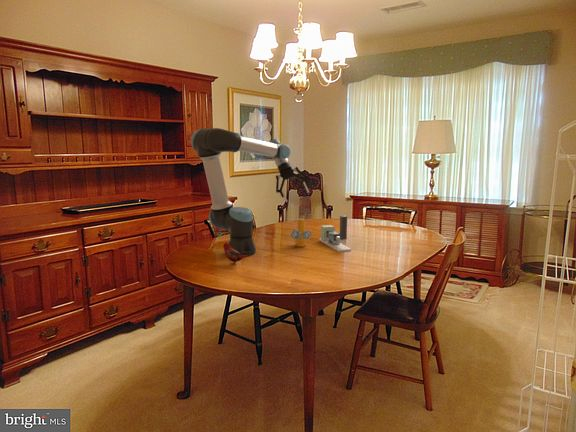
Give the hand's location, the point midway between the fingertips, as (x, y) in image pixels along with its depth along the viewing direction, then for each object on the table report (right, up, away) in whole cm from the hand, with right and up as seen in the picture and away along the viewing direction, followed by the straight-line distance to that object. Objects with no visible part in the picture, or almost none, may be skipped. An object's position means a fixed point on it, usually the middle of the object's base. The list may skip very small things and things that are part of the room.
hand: (297, 197), depth 242 cm
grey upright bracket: (+22, -24, -11) cm, 34 cm away
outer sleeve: (+20, -26, -6) cm, 34 cm away
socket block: (+17, -25, +3) cm, 30 cm away
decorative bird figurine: (-30, -34, -45) cm, 64 cm away
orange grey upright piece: (+2, -28, -7) cm, 29 cm away
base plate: (+20, -27, -6) cm, 35 cm away
